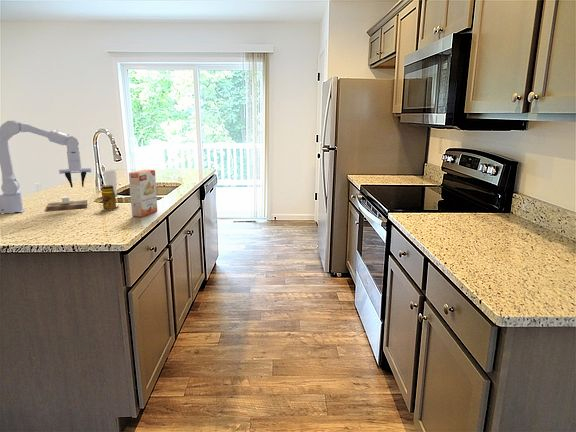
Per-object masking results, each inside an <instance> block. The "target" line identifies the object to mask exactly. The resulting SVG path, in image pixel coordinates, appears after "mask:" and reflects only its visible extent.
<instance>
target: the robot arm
mask: <svg viewBox="0 0 576 432" xmlns="http://www.w3.org/2000/svg"><path fill="white" fill-rule="evenodd" d="M19 133H31V134H35V135H38V136H42V137H45V138H47V139H48V141H49V142H51V143H54V144H57V145H61V146H66V156H67V165H68V168H66V169H65V168H64V169H58V172H59V174H60V175H63V174H64V176H65V178H66V179H67V181H68V183H69V185H70V188H73V180H72V174H80V179H81V187H82V188H83V187H84V186H85V184H84V183H85V179H86V175H87V173H92V168H91V167H89V168H88V167H87V168H82V162H81V161H82V160H81V155H80V148H79V145H80V143H79V141H78V139H77V137H76V136H74V135H70V134H68V133H67V134H66V133H63V132H60V130H57V129H56V130H54V129H52V130H50V131H49V130H45V129H44V128H40V127H38V126H35V125H33V124H30V123H25V122H20V121H16V120H6V121H5V122H4V123H2V124H1V125H0V170H1V181H2V184H1V187H0V188H1V191H2V194H0V213H9V214H15V213H14V212H22V213H24V212H25V210H23V209H24V206H23V200H22V193H21V192H20V190H19V189H20V183H19V182H18V180H17V177H16V175H15V172H14V166H13V162H12V161H13V160H12V156H11V151H10V145H9V141H10V140H11V138H13V136H15V135H17V134H19ZM23 211H24V212H23Z"/></svg>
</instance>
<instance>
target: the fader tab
mask: <svg viewBox="0 0 576 432" xmlns="http://www.w3.org/2000/svg"><path fill="white" fill-rule="evenodd" d="M61 202H62V203H63V204H67V203H69V202H70V195H65V196H62V197H61Z"/></svg>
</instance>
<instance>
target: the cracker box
mask: <svg viewBox="0 0 576 432" xmlns="http://www.w3.org/2000/svg"><path fill="white" fill-rule="evenodd" d="M128 179H129V192H130V206H131V216H132V217H138V218H144V217H146V216H147V215H151V214H152V213H156V212H157V211H158V202H157V184H156V183H157V182H156V179H157V178H156V170H155V169H142V170H137V171H132V172H128Z"/></svg>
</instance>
